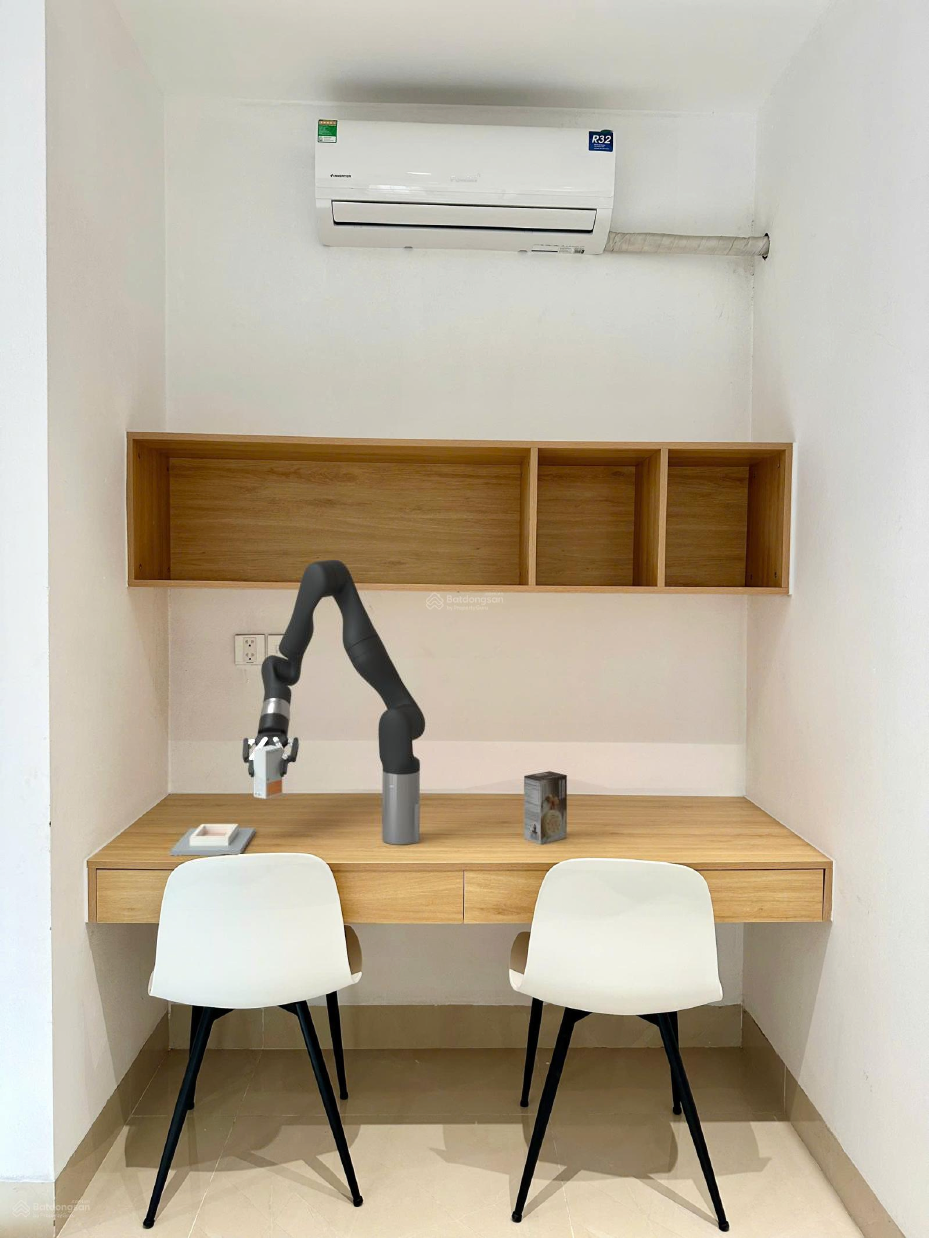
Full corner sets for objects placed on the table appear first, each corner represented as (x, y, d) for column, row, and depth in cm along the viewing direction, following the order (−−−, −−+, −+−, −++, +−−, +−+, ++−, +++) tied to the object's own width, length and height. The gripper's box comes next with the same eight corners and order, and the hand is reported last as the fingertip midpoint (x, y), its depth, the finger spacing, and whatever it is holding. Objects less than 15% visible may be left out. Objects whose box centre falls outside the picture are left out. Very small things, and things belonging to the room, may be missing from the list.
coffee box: (549, 832, 217) (550, 770, 217) (567, 838, 212) (568, 774, 212) (522, 838, 212) (523, 775, 211) (540, 845, 207) (541, 779, 206)
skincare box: (266, 799, 206) (265, 750, 206) (253, 797, 209) (252, 748, 208) (283, 794, 211) (282, 746, 211) (271, 792, 214) (270, 744, 213)
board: (255, 832, 215) (255, 819, 215) (240, 855, 197) (240, 841, 197) (190, 832, 214) (190, 820, 214) (170, 855, 196) (170, 842, 196)
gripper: (244, 711, 216) (234, 767, 205) (300, 711, 217) (294, 766, 206) (248, 728, 222) (239, 784, 211) (304, 728, 223) (298, 783, 211)
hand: (267, 775), depth 208 cm, fingers closed on skincare box, 6 cm apart
